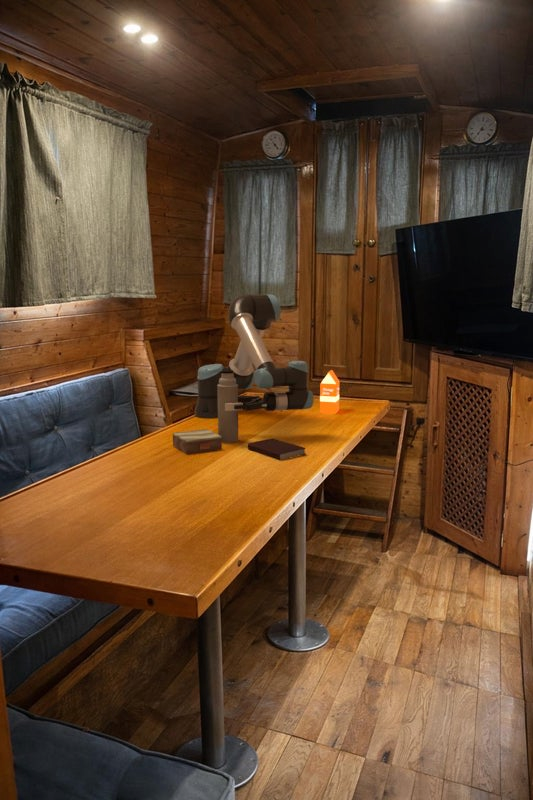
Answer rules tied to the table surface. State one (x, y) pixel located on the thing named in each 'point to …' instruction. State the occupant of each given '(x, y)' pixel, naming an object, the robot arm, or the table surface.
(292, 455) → the book
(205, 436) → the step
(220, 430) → the thermos bottle
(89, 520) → the table surface
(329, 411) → the orange juice
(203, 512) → the table surface
